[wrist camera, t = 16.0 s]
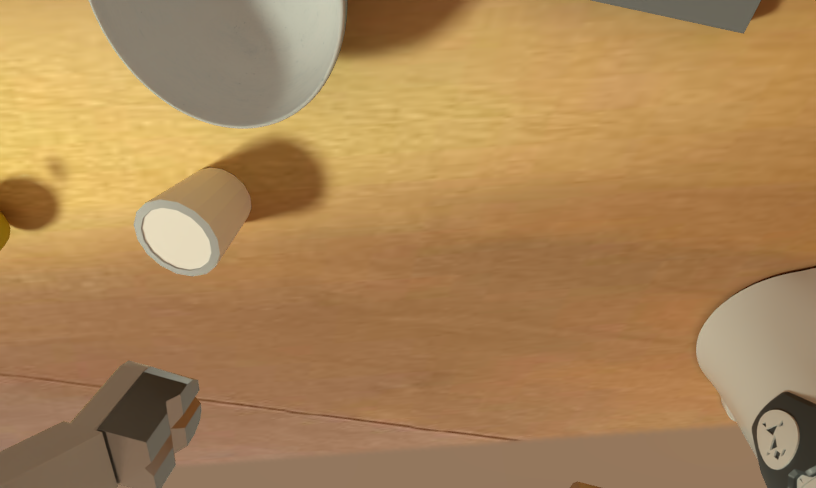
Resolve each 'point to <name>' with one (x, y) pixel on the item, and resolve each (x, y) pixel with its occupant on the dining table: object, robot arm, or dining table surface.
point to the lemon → (4, 230)
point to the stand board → (698, 11)
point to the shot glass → (193, 221)
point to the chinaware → (228, 53)
